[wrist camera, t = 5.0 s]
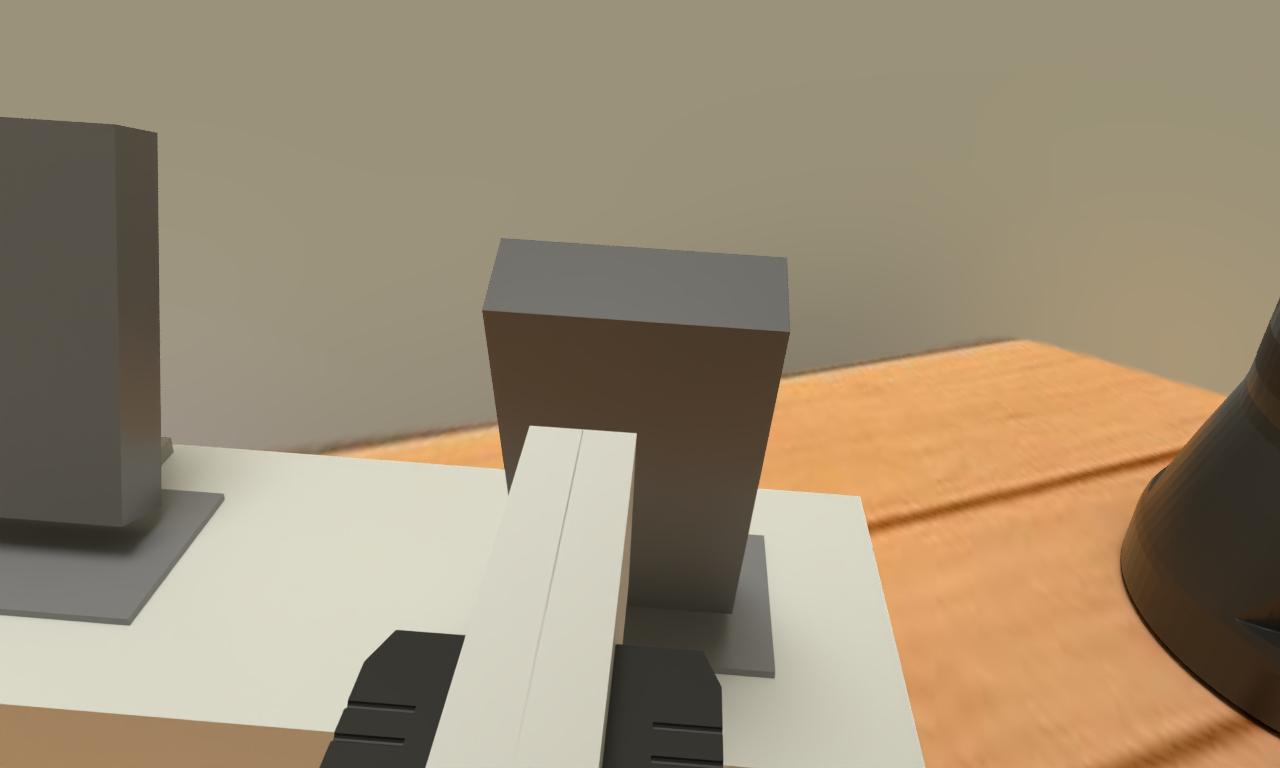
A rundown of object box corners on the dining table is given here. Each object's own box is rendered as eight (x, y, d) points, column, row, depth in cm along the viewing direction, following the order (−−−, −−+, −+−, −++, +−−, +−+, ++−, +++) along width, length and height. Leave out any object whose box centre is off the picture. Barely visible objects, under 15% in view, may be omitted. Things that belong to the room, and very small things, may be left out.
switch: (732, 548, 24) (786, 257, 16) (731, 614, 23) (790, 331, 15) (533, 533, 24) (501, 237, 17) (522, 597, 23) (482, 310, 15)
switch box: (830, 646, 31) (863, 482, 28) (878, 953, 22) (934, 766, 19) (23, 581, 32) (-34, 414, 29) (-236, 853, 23) (-359, 656, 20)
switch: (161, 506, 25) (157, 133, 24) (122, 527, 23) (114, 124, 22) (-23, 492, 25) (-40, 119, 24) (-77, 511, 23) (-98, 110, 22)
